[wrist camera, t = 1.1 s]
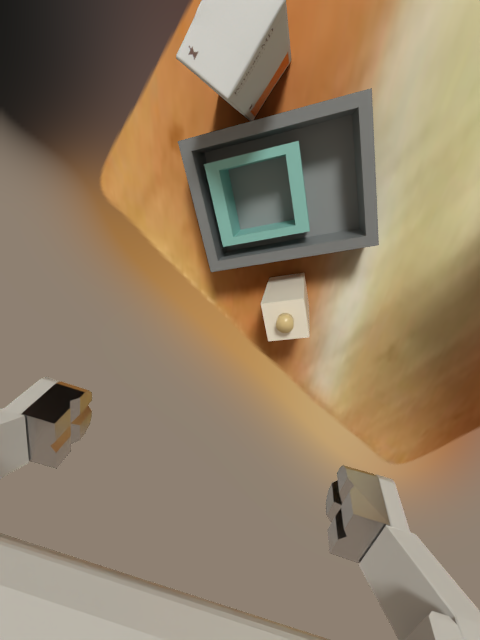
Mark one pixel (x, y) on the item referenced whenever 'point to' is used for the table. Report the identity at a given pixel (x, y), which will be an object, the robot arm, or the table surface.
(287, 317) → the plug
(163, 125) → the table surface
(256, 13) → the skincare box
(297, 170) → the inlet socket
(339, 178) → the organiser box
